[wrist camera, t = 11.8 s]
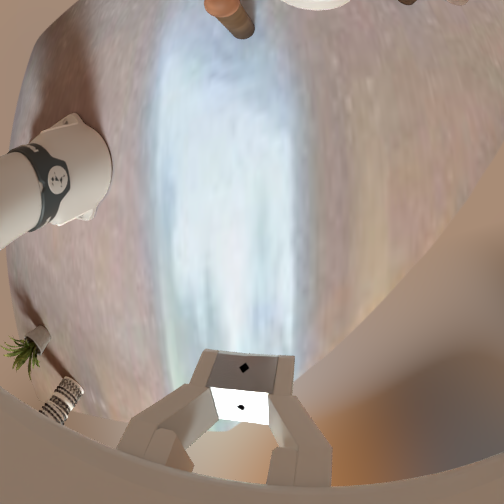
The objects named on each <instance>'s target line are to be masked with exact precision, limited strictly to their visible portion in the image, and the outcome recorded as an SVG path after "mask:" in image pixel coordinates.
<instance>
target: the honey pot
mask: <svg viewBox="0 0 504 504" xmlns="http://www.w3.org/2000/svg"><path fill="white" fill-rule="evenodd" d="M281 1H283V2H285V3H287V4H289V5H292V6H295V7H298V8H301V9H308V10H329V9H333V8H337V7H340V6H342V5H344V4H346V3H348V2H349V1H350V0H281Z"/></svg>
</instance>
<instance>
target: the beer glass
mask: <svg viewBox="0 0 504 504" xmlns="http://www.w3.org/2000/svg"><path fill="white" fill-rule="evenodd" d="M446 1H448V2H449V3H451V4H454V5H457V6H462V5H465V4H466V3H467V2H468V1H469V0H446Z"/></svg>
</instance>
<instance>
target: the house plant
mask: <svg viewBox="0 0 504 504" xmlns="http://www.w3.org/2000/svg"><path fill="white" fill-rule="evenodd" d="M11 339H12V338H11ZM24 339H25V341H24V340H15V339H12V340H14V342H15V343H16V344H17V345H18V346H16V347H21V346H23V347H22V348H19V349H15V350H11V349H6V348H4V347H2V348H3V349H5V350H8V351H14V352H13V353H9V354H7V355H4V356H7V357H11V356H16V355H18V354H19V355H18V356H17V357H16V359H15V362H14V364H13V368H14V366H15V364H16V363H17V367H16V370H18V369H19V368H20V367H21V366H22V365H23V364H24V363H25V361H26V360H27V359H28V357H29V356H30V358H29V364H28V373H29V377H30V371H31V358H32V352H33V360H32V363H33V364H32V365H33V369H34V365H35V362H36V365H37V366H38V367H40V366H39V364H38V362H39V361H38V360H37V354H38V355H41V354H42V353H43V351H44V349H45V347H46V346H47V344H48V342H49V341H50V339H51V336H50V334H49V332H48V331H47V330H46V329H45V328H44V327H43V326H41V325H39V326H38V327H36V328H35V329H34V330H32V331H31V332H29V333H28V334H26V335H25V336H24ZM16 341H19V342H21V343H23V344H24V342H25V344H24V345H22V344H18V343H17V342H16ZM6 345H7V344H6ZM8 346H9V345H8ZM24 346H25V347H24ZM9 347H15V346H9ZM20 353H21V354H20ZM30 380H31V377H30ZM31 382H32V381H31Z"/></svg>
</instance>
